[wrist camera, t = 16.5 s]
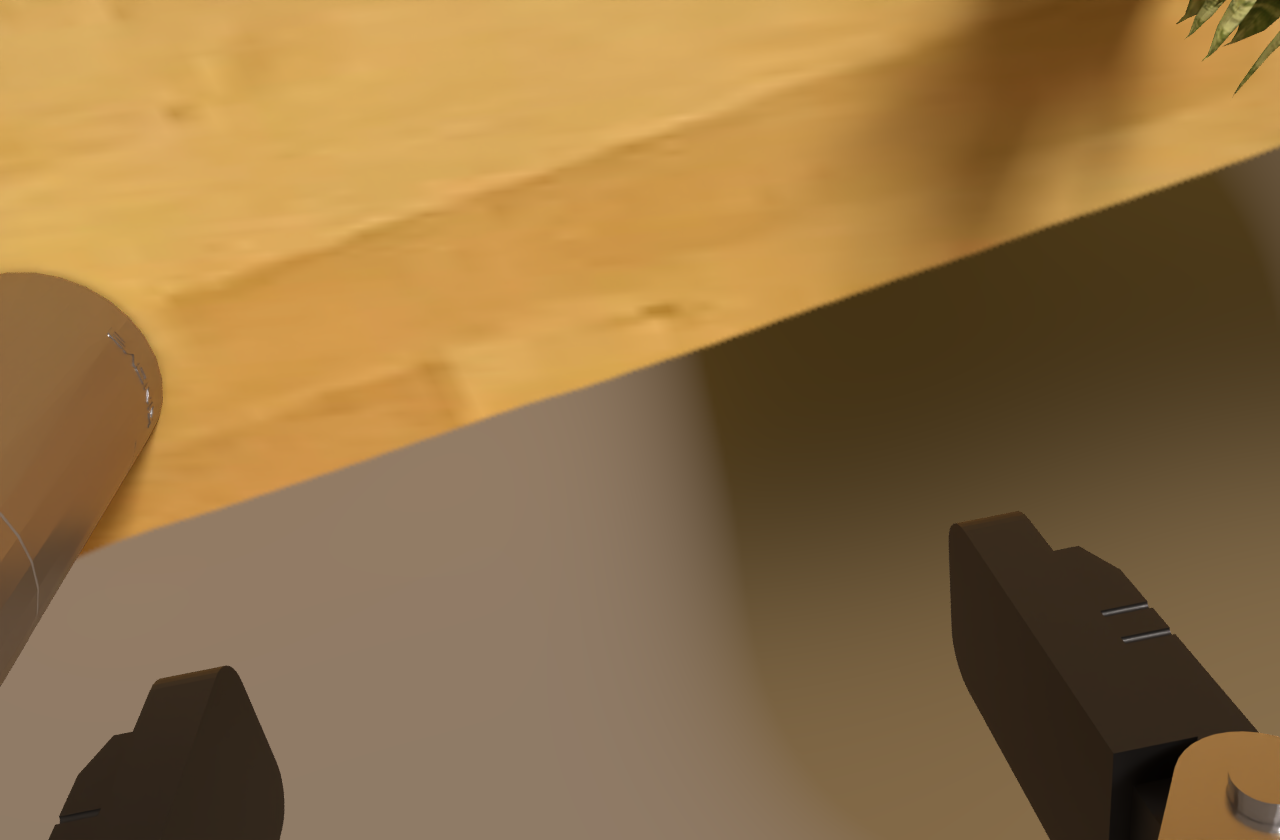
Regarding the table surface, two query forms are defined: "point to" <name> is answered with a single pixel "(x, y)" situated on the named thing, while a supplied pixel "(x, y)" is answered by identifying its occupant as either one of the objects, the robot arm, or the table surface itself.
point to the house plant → (1237, 23)
